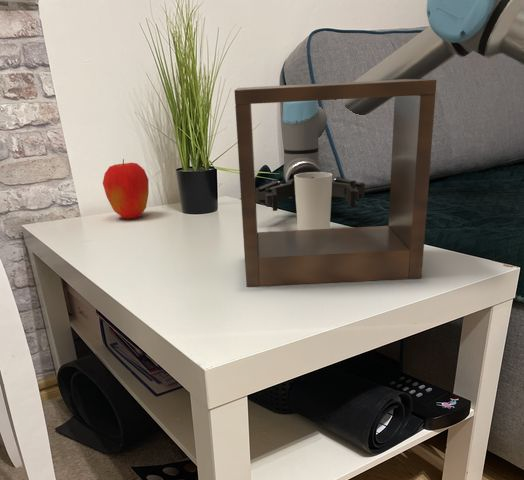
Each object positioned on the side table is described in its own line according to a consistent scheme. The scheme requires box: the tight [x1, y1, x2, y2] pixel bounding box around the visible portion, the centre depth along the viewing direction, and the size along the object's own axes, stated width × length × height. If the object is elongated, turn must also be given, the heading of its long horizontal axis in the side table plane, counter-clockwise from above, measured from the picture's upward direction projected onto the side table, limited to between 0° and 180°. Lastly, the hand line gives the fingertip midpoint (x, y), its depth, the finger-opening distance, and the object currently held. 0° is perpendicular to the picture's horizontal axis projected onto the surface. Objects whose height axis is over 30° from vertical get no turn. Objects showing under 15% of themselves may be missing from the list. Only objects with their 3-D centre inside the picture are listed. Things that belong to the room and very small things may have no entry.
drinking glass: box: [294, 171, 333, 230], centre depth 102 cm, size 7×7×10 cm
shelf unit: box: [233, 78, 438, 288], centre depth 80 cm, size 24×14×25 cm, turn 91°
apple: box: [102, 158, 150, 220], centre depth 120 cm, size 9×9×12 cm
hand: (313, 201), depth 100 cm, fingers open, 13 cm apart
